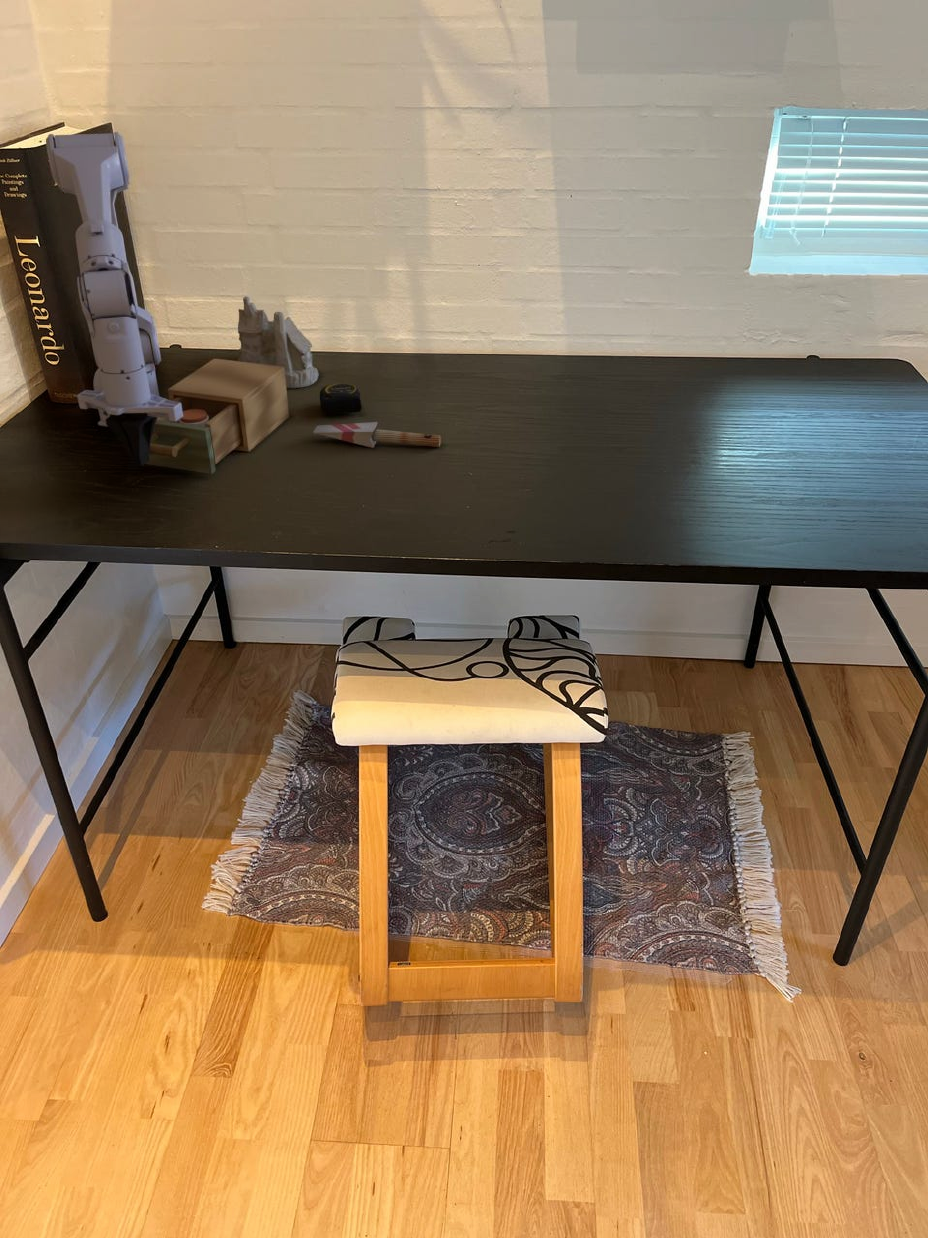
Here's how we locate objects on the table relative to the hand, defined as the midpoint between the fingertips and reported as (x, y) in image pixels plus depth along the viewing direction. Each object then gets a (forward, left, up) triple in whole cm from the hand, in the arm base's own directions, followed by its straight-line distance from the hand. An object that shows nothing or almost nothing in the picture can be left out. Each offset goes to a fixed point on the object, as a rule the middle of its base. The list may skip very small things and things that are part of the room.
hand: (141, 462), depth 131 cm
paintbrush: (+24, +28, -6) cm, 37 cm away
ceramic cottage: (-4, +52, -6) cm, 52 cm away
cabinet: (0, +26, -6) cm, 26 cm away
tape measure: (+14, +38, -6) cm, 41 cm away
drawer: (0, +12, -5) cm, 13 cm away
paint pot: (0, +14, -3) cm, 15 cm away
